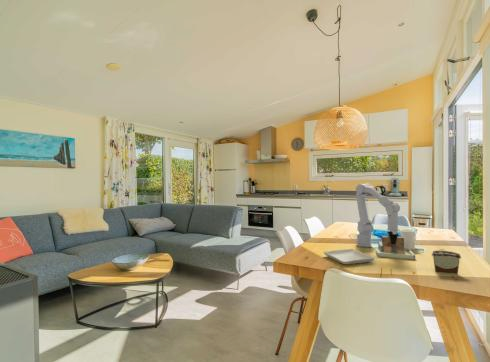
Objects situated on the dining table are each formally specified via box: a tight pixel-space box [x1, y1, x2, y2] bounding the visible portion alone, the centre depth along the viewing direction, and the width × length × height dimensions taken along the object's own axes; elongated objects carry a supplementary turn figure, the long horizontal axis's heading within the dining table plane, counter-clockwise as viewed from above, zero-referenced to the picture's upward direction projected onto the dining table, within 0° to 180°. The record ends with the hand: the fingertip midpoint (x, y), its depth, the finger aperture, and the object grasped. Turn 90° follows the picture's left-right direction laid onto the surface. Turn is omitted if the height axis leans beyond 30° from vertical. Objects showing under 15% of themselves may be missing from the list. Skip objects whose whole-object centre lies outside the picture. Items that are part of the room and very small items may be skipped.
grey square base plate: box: [377, 241, 406, 253], centre depth 179 cm, size 14×13×4 cm
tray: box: [375, 247, 416, 261], centre depth 167 cm, size 20×12×2 cm, turn 70°
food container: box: [431, 250, 462, 275], centre depth 139 cm, size 12×6×10 cm, turn 71°
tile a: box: [384, 246, 391, 253], centre depth 171 cm, size 4×4×2 cm
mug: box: [400, 229, 417, 251], centre depth 186 cm, size 12×8×12 cm
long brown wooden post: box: [381, 235, 404, 248], centre depth 173 cm, size 12×3×6 cm, turn 70°
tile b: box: [397, 250, 406, 254], centre depth 166 cm, size 4×4×2 cm
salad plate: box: [323, 248, 375, 265], centre depth 160 cm, size 21×21×3 cm
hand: (392, 243), depth 173 cm, fingers closed on long brown wooden post, 3 cm apart
